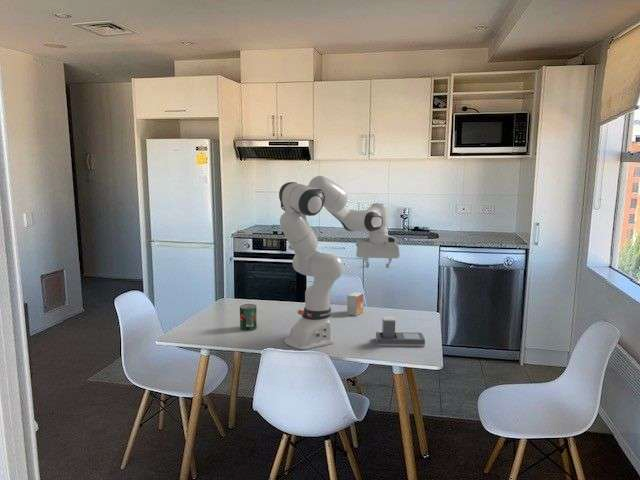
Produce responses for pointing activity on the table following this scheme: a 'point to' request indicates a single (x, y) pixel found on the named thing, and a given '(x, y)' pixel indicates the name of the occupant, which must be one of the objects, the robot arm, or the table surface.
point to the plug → (388, 327)
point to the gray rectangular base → (401, 339)
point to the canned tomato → (248, 317)
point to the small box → (355, 304)
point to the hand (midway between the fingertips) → (377, 267)
